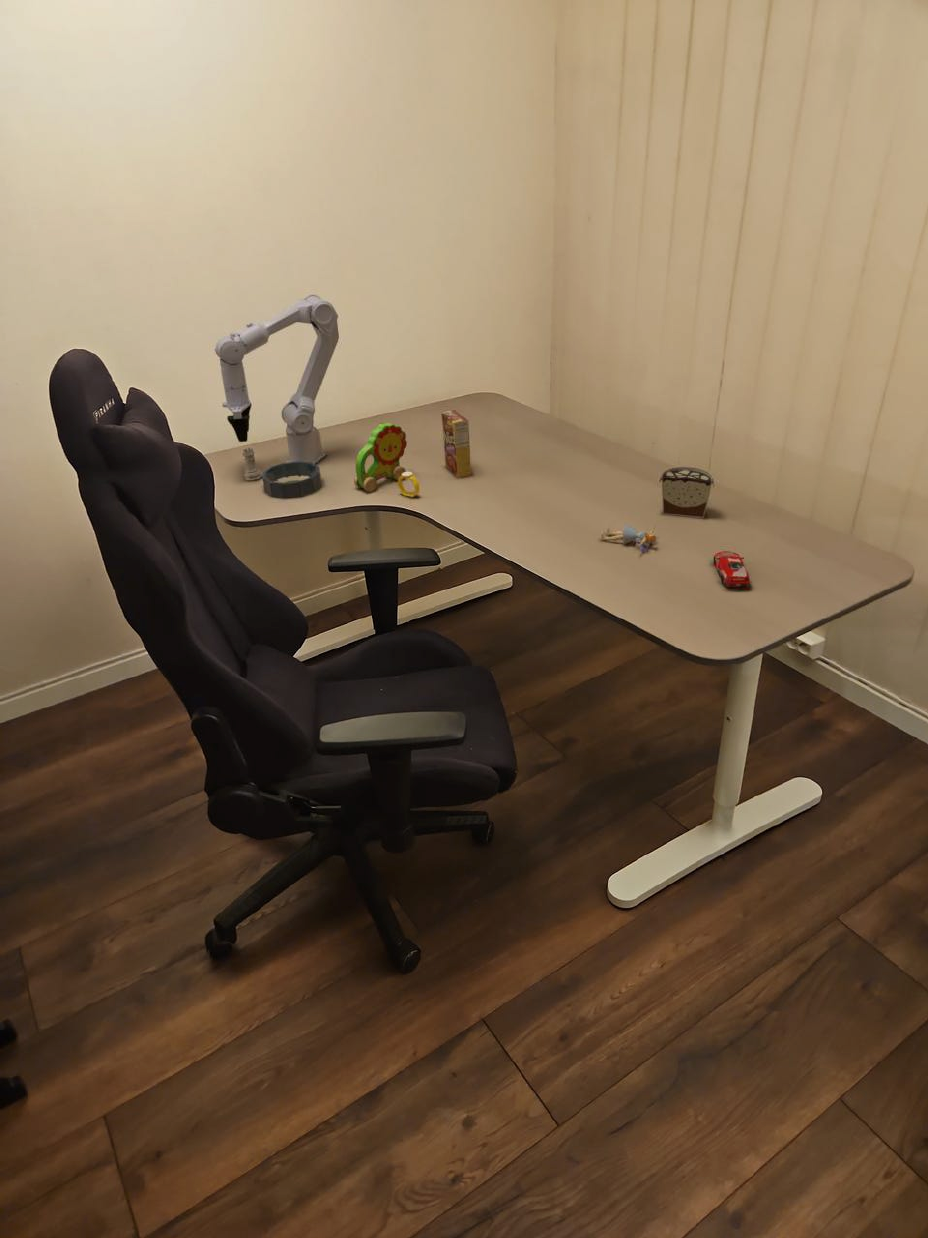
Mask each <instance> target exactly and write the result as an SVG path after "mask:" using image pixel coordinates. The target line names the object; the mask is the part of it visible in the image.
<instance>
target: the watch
mask: <svg viewBox="0 0 928 1238" xmlns="http://www.w3.org/2000/svg"><path fill="white" fill-rule="evenodd" d="M404 479H409V480H410V481H411V482H412V483H413V485H414V493H412V492H411V493H410V492H408V491H406V489H405V487H404V486H403V480H404ZM397 487H398V489H399V492H400V493H401V494H402V495H403V496H406V497H410V498H415V497H416V496H417V495H418V494H420V493H419V492H420V483H419V481H418V480H417V477H415V476H414V473H413V472H412V471H406V472H404V473H402V476H400V477H399V480H397Z"/></svg>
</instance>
